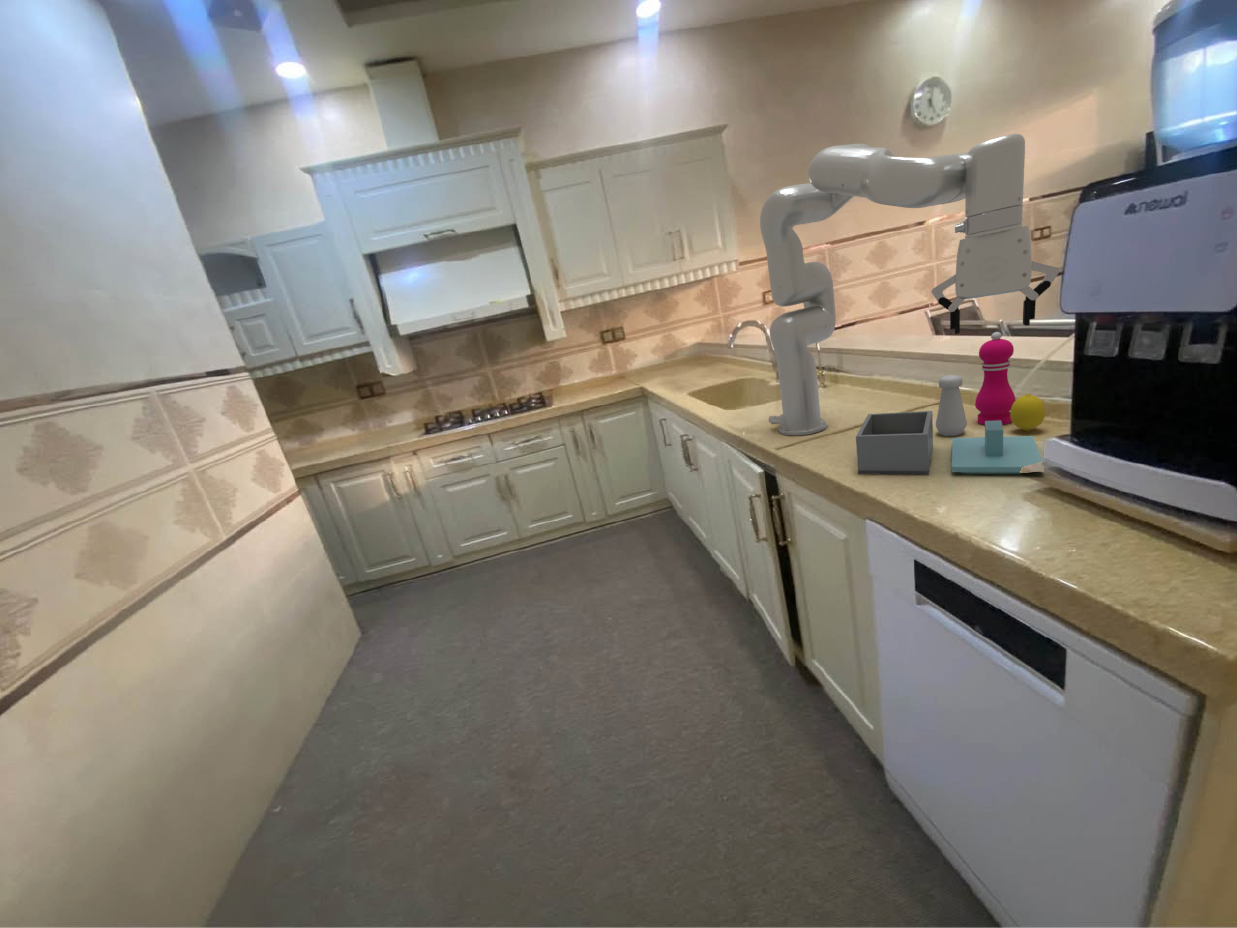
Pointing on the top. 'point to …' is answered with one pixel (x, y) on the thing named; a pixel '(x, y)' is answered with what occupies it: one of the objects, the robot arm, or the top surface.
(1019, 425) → the lemon
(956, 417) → the salt shaker
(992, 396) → the pepper mill
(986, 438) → the lid
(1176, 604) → the top surface
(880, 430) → the tub
